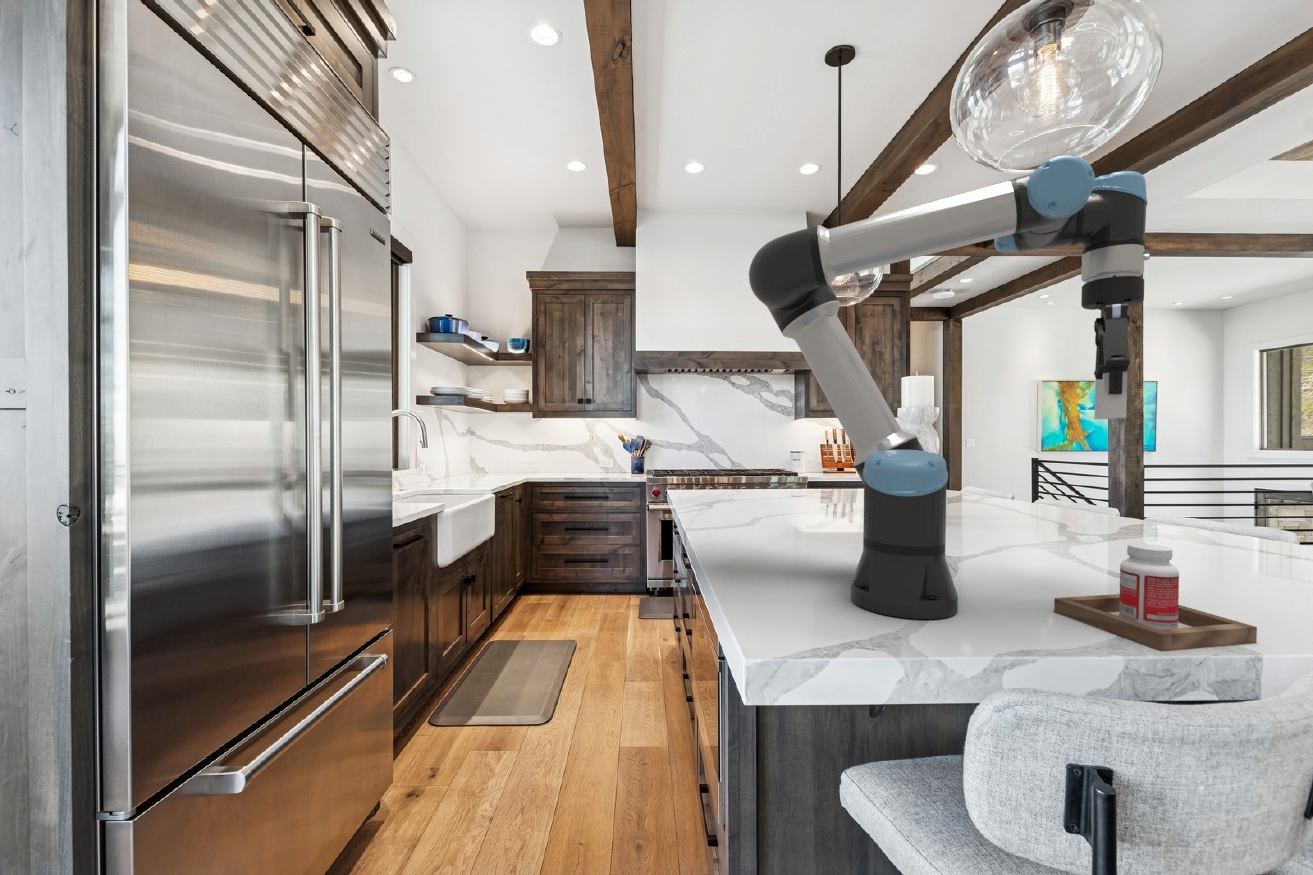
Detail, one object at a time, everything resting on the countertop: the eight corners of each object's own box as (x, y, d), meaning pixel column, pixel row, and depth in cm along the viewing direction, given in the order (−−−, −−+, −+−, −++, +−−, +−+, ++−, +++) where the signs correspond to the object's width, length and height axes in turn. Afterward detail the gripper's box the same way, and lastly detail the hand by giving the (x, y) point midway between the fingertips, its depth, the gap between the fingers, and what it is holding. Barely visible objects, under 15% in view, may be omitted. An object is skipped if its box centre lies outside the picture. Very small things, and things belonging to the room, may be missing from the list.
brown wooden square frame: (1161, 650, 70) (1161, 634, 70) (1054, 611, 85) (1054, 598, 85) (1256, 642, 73) (1256, 627, 73) (1137, 605, 88) (1137, 593, 88)
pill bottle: (1184, 628, 78) (1186, 548, 78) (1169, 637, 75) (1171, 553, 74) (1128, 615, 83) (1130, 540, 83) (1111, 623, 80) (1113, 544, 80)
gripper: (1158, 255, 75) (1154, 417, 76) (1133, 292, 96) (1130, 419, 96) (1087, 264, 79) (1083, 417, 80) (1077, 298, 100) (1074, 419, 100)
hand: (1109, 418), depth 88 cm, fingers open, 13 cm apart
